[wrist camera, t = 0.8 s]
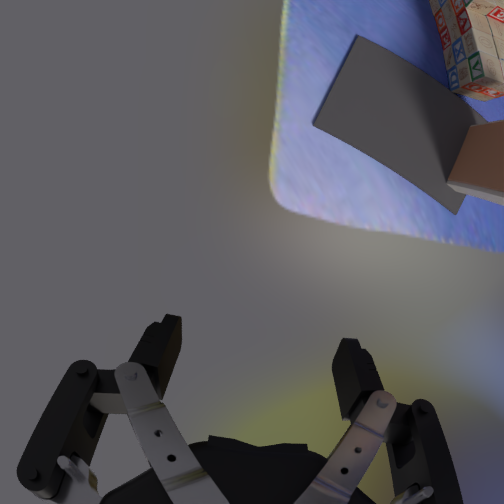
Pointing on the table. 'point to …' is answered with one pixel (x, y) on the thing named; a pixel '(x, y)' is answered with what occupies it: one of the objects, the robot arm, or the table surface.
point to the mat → (399, 118)
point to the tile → (481, 163)
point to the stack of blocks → (472, 45)
